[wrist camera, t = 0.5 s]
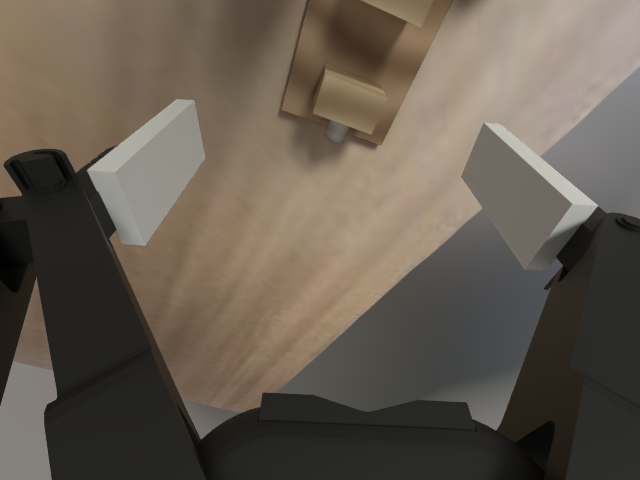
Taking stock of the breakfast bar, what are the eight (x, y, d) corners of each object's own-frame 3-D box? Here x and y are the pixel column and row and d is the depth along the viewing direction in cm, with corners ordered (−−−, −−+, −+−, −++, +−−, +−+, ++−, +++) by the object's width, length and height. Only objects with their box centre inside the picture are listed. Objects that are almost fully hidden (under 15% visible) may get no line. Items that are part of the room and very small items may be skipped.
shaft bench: (338, -115, 27) (341, -141, 22) (471, -45, 30) (503, -52, 24) (282, 106, 39) (275, 126, 34) (379, 141, 42) (388, 165, 37)
